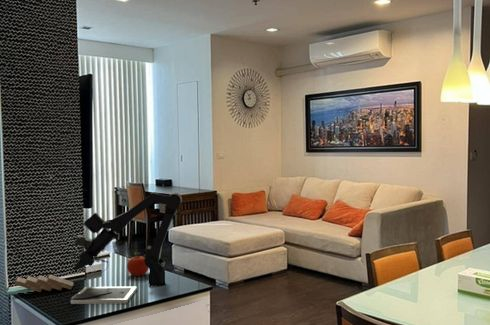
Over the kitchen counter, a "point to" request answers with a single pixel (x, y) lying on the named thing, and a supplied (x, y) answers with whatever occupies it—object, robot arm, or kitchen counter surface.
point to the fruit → (137, 265)
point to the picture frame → (103, 295)
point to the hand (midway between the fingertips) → (74, 269)
